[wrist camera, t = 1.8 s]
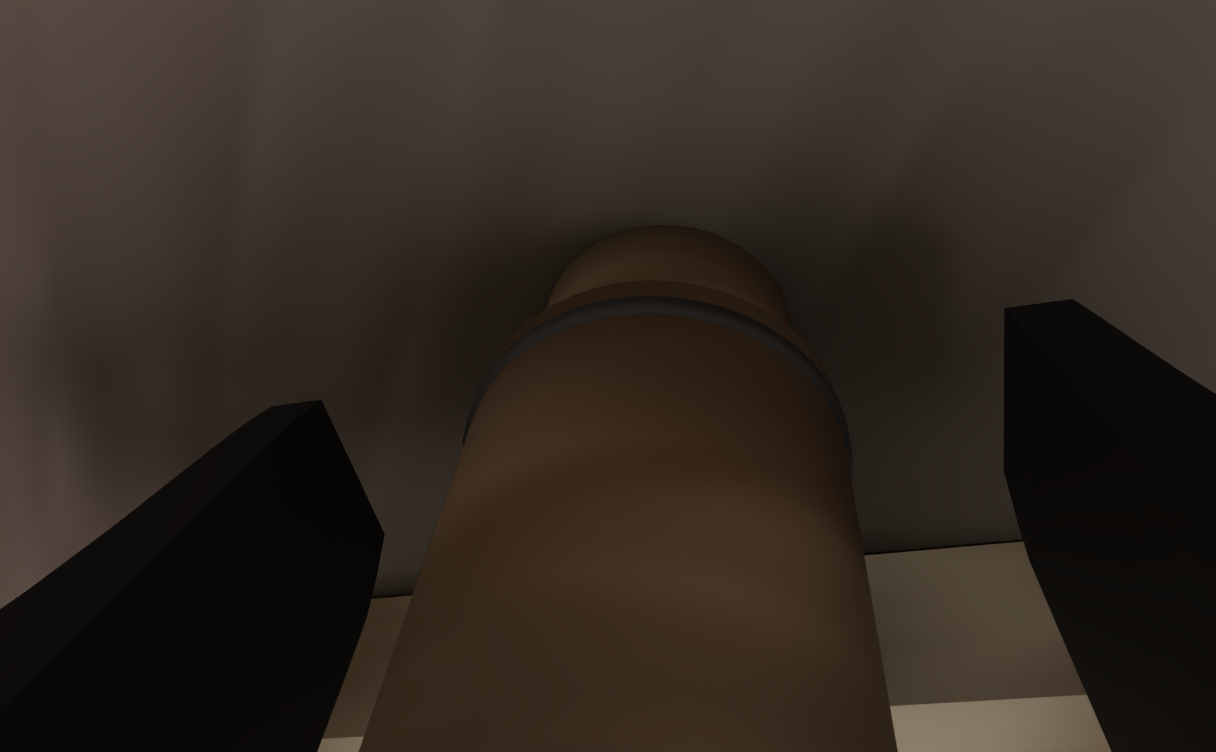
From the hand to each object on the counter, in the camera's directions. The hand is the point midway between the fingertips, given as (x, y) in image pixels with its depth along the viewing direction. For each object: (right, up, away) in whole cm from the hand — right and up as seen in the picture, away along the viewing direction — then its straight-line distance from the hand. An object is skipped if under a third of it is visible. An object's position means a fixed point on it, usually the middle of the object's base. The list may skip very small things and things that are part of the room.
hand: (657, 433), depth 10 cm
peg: (0, +1, +2) cm, 2 cm away
